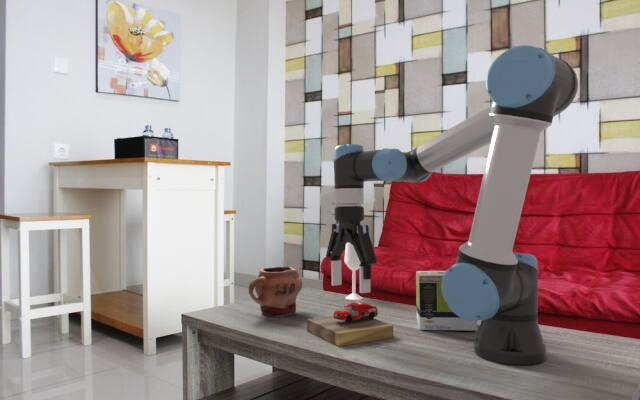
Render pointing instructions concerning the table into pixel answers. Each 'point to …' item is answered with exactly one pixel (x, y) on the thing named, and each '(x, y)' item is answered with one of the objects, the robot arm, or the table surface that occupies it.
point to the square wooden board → (349, 330)
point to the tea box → (436, 305)
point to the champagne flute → (352, 268)
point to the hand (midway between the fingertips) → (350, 288)
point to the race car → (356, 312)
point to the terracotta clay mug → (276, 290)
